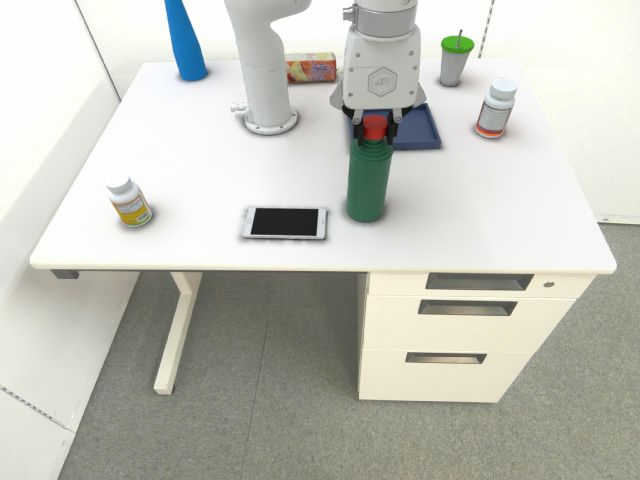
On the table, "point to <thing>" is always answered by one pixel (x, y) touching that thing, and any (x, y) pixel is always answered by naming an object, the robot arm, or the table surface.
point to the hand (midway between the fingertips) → (374, 139)
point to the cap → (374, 127)
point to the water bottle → (368, 179)
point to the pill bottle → (496, 108)
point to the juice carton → (310, 67)
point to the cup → (454, 58)
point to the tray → (410, 129)
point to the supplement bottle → (128, 200)
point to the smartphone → (285, 223)
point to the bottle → (184, 42)
